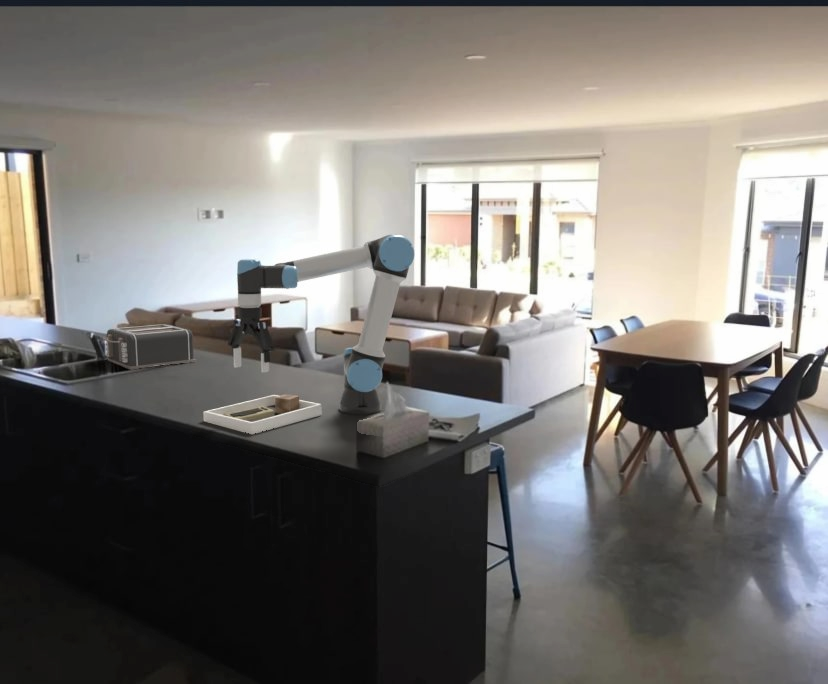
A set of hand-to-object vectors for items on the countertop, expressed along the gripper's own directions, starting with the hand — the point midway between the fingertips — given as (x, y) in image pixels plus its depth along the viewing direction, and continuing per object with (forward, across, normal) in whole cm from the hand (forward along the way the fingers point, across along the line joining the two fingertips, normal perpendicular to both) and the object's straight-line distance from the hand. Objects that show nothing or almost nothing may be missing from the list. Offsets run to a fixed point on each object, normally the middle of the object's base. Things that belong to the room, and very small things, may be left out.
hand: (251, 369), depth 245 cm
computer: (+19, -1, 0) cm, 19 cm away
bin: (+18, 0, -5) cm, 19 cm away
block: (+18, 0, -16) cm, 24 cm away
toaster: (+19, +120, -40) cm, 127 cm away
